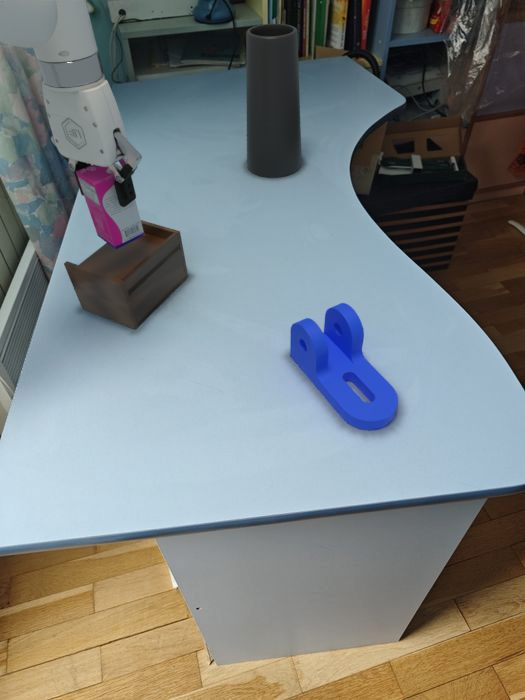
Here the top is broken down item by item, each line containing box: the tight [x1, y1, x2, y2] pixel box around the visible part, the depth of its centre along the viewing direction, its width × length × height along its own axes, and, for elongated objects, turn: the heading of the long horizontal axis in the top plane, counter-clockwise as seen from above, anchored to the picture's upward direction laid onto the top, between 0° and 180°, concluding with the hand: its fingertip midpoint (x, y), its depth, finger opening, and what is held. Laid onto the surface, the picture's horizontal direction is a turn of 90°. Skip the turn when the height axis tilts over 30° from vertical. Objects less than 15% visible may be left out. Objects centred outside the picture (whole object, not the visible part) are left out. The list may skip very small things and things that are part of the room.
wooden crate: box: [63, 219, 189, 330], centre depth 85 cm, size 12×16×10 cm
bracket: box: [289, 302, 399, 431], centre depth 69 cm, size 18×8×9 cm, turn 30°
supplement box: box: [76, 163, 144, 249], centre depth 76 cm, size 6×6×12 cm
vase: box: [245, 23, 303, 179], centre depth 111 cm, size 14×14×29 cm
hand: (108, 196), depth 75 cm, fingers closed on supplement box, 7 cm apart
